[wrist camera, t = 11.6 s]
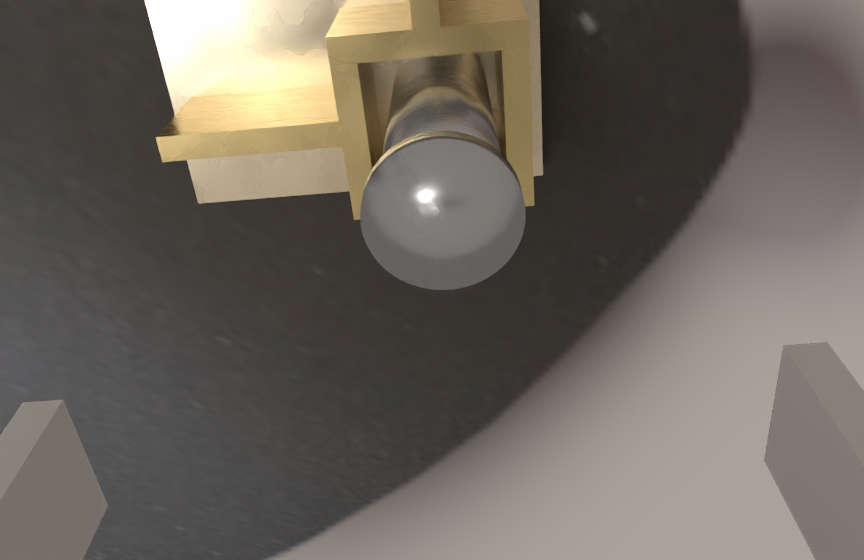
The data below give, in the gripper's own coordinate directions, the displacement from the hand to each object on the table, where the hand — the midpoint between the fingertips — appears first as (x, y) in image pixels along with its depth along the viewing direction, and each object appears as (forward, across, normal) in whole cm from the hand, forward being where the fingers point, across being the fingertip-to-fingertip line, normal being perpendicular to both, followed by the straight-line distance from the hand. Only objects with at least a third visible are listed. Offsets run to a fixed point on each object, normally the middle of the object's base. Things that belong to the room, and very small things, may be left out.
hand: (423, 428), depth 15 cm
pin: (+22, 0, 0) cm, 22 cm away
